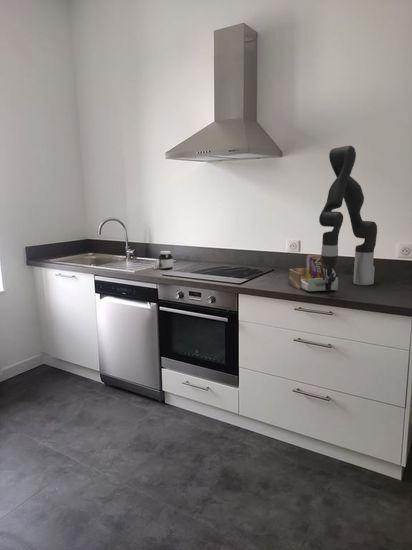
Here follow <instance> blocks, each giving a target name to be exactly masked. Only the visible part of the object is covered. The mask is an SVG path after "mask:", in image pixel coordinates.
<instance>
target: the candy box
mask: <svg viewBox="0 0 412 550" xmlns="http://www.w3.org/2000/svg"><path fill="white" fill-rule="evenodd" d="M323 266H324V265H323V264H321V254H310V255H307V254H306V267H305V268H306V283H308V279H315V278H323V277H322V273H321V269H323Z"/></svg>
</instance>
